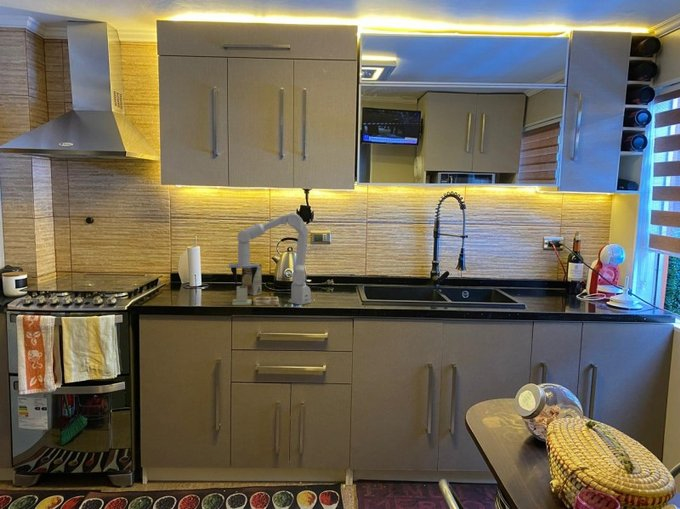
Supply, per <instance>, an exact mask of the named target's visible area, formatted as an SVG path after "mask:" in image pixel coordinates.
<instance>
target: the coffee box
mask: <svg viewBox="0 0 680 509" xmlns="http://www.w3.org/2000/svg"><path fill="white" fill-rule="evenodd" d="M250 264H255V263H254V262H253V263H252V262H250ZM258 264H259V268H257V271H256V273H255V276H254V280H253V283H252V268H241V286H247V295H248V294H249V296H257V295H261V294H262V272H263V271H262V267H263V266H262V264H260V263H258Z"/></svg>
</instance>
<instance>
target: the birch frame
mask: <svg viewBox="0 0 680 509" xmlns="http://www.w3.org/2000/svg"><path fill="white" fill-rule="evenodd" d="M279 302H280V301H279V297H278V296H254V297H253V306H279V305H280V303H279Z"/></svg>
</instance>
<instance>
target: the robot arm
mask: <svg viewBox="0 0 680 509" xmlns="http://www.w3.org/2000/svg"><path fill="white" fill-rule="evenodd" d="M279 225H281V226H282V225H285V226H287V225H288V226H290V227H291V228H293V229H294V230H295V231H296V232H297V233H298V234H297V246H296V254H295V265H294V270H293V272H292V274H291V277H292V283H291V285H290V286H291V291H290V292H291V293H290V294H291V295H290V300H287V303H291V304H296V305H300V306H301V305H305V304H311V303H312V302H313V301H312V300H311V299H312V298H311V295H312V293H311V292H312V291H311V288H310V287H309V286H308V285H307V283H306V275H305V267H306V266H305V263H306V254H307V244H308V235H309V229H308V228H307V226H306V224H305V222H304V220H303V218H302V217H301V216H300V215H299V214H298V213H295V212H291V213H289V214H284V215H281V216H278V217H277V218H275V219H271V220H270V221H268V222H265V223H263V224H262V223H257V222H256V223H254V224H253V225H252V226H250V227H245V229H244V230H241V231H239V232H238V233H237V235H236V236H237V239H238V241H237V263H229V264H228V269H230V271H231V274H232V275H233V277H234V283H235V284H238V277H237V276H238V274H237V272H238V271H237V269H242V268H252V283H253V280H254V276H255V273H256V271H257V268H259V264H260V263H254V264H250V263H251V245H250V240H254V239H256V238H258V237H260V236H264V235H265V234H266V231H267V230H271V229H272V228H275V227H277V226H279Z"/></svg>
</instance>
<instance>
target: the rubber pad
mask: <svg viewBox="0 0 680 509" xmlns="http://www.w3.org/2000/svg"><path fill="white" fill-rule="evenodd" d="M231 305H232V306H251V305H252V299H251V298H250V299H249V298H247V302H239V303H237V299H232V303H231Z"/></svg>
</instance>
